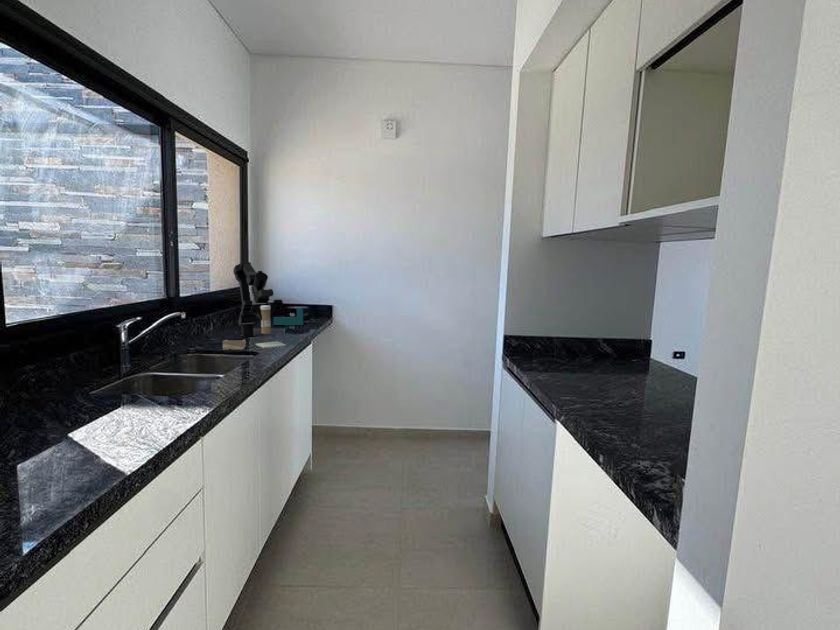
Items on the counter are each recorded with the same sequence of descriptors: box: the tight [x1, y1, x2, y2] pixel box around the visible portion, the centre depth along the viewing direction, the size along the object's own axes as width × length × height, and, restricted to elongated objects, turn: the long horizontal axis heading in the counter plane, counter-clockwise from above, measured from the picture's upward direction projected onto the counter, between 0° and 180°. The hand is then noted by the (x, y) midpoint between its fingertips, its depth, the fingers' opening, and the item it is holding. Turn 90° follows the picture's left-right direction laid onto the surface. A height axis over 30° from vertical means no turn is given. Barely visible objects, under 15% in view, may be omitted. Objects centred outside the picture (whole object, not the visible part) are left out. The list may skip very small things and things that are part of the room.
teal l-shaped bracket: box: [273, 308, 304, 326], centre depth 296 cm, size 18×11×10 cm, turn 106°
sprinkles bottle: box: [260, 305, 272, 335], centre depth 222 cm, size 5×5×13 cm
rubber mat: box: [255, 341, 287, 349], centre depth 224 cm, size 11×11×1 cm
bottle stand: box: [222, 339, 247, 351], centre depth 216 cm, size 6×9×4 cm, turn 101°
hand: (266, 319), depth 221 cm, fingers closed on sprinkles bottle, 4 cm apart
